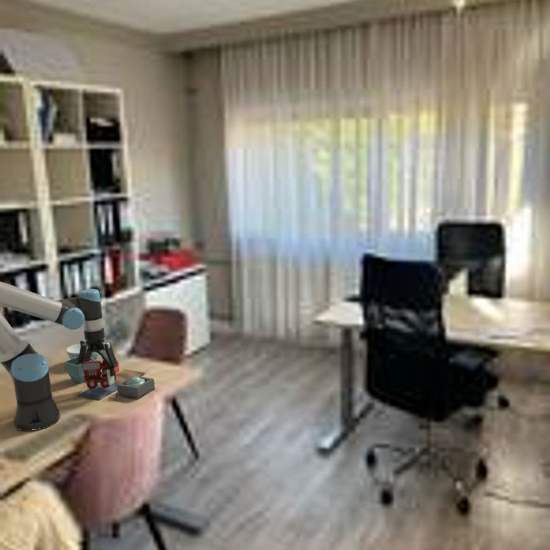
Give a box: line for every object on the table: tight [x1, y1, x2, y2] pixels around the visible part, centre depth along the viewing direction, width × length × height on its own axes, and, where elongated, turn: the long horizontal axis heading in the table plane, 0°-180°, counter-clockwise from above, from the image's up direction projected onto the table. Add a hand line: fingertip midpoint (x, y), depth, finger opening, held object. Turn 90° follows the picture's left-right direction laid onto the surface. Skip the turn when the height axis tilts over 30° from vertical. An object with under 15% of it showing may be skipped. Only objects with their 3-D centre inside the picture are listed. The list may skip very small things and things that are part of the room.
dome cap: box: [126, 377, 145, 387], centre depth 227 cm, size 7×7×5 cm
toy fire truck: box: [82, 359, 117, 389], centre depth 229 cm, size 7×12×10 cm, turn 100°
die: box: [101, 359, 120, 374], centre depth 249 cm, size 5×5×5 cm
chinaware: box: [66, 342, 100, 361], centre depth 262 cm, size 15×15×8 cm
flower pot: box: [64, 357, 94, 384], centre depth 242 cm, size 9×9×9 cm
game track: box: [77, 369, 146, 401], centre depth 237 cm, size 28×11×1 cm, turn 154°
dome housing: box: [117, 376, 156, 400], centre depth 227 cm, size 10×10×4 cm
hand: (100, 381), depth 230 cm, fingers closed on toy fire truck, 11 cm apart
